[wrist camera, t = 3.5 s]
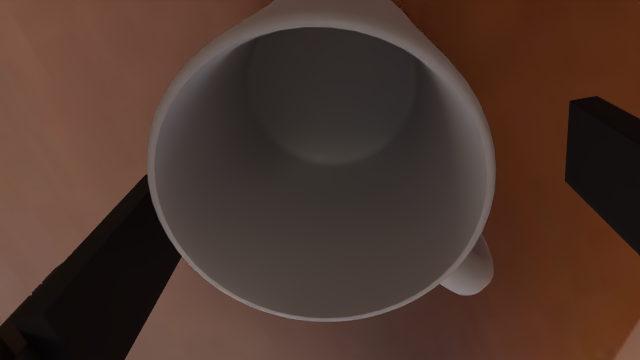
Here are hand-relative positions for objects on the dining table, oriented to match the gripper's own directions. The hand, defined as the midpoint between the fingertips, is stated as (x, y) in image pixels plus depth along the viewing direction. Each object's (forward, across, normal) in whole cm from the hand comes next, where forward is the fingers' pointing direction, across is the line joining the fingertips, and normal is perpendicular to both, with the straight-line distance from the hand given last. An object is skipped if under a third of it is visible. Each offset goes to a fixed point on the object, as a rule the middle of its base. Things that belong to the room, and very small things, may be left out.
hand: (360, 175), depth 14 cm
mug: (+7, 0, 0) cm, 7 cm away
